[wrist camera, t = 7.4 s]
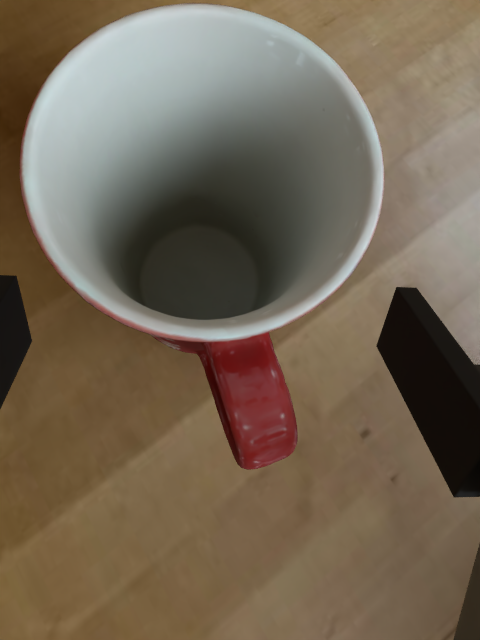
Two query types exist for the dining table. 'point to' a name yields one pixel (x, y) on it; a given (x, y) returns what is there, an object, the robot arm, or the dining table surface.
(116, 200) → the mug
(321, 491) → the dining table surface
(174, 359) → the dining table surface
